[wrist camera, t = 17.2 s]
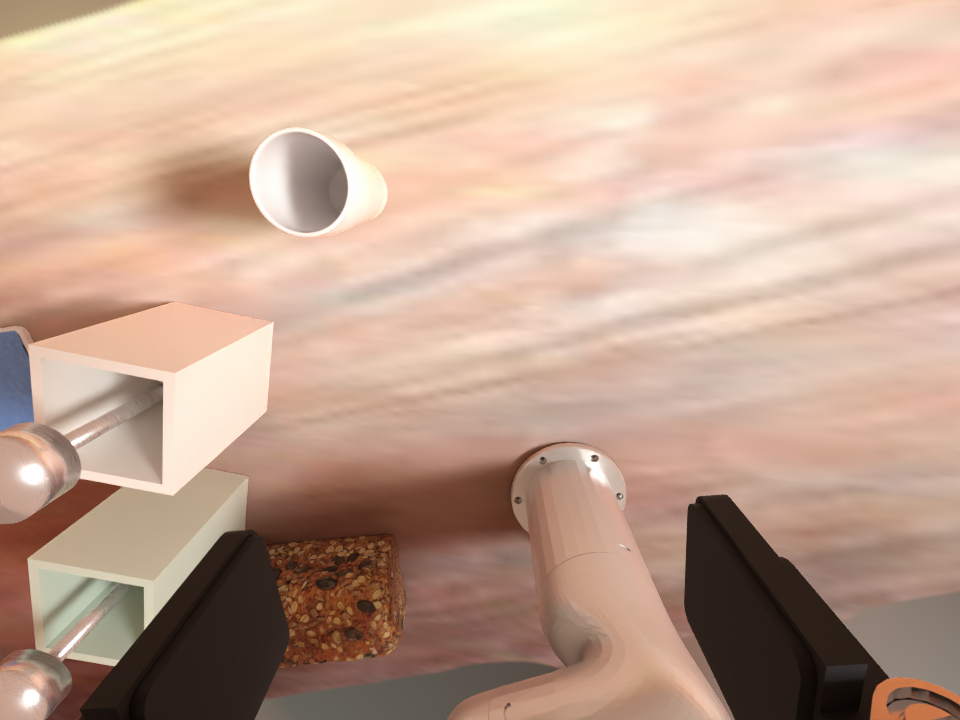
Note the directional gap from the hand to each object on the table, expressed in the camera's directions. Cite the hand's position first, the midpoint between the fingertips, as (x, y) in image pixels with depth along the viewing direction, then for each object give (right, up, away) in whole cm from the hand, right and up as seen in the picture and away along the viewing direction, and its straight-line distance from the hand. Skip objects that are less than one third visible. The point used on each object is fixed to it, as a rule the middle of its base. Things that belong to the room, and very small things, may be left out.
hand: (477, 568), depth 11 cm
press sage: (-32, -12, +45) cm, 56 cm away
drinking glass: (-11, +20, +34) cm, 41 cm away
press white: (-27, +5, +39) cm, 48 cm away
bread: (-18, -21, +48) cm, 55 cm away
